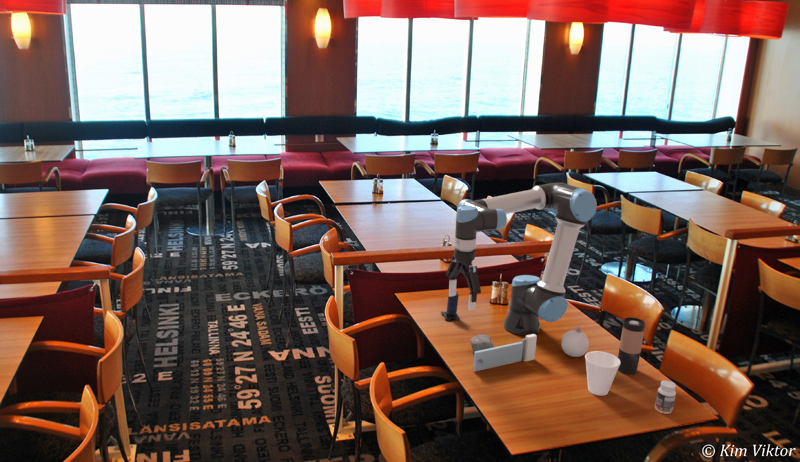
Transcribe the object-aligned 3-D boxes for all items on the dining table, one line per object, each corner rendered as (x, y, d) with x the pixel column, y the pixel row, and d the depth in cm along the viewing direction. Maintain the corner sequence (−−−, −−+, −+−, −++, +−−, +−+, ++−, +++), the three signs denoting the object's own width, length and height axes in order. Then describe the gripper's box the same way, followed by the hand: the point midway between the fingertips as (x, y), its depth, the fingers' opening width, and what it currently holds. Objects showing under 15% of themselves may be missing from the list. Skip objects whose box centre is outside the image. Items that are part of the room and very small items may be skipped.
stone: (501, 356, 242) (491, 336, 239) (480, 367, 243) (470, 346, 239) (494, 346, 251) (485, 326, 248) (474, 355, 251) (465, 336, 248)
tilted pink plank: (531, 357, 243) (534, 333, 240) (534, 359, 242) (537, 335, 239) (523, 359, 241) (525, 335, 238) (525, 361, 240) (528, 337, 237)
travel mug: (637, 367, 239) (645, 319, 233) (637, 376, 232) (645, 327, 226) (616, 363, 241) (623, 315, 236) (615, 372, 234) (623, 323, 229)
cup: (610, 403, 214) (615, 370, 210) (576, 392, 220) (580, 360, 216) (619, 388, 223) (624, 357, 220) (586, 378, 229) (590, 347, 226)
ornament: (588, 352, 249) (592, 325, 245) (584, 363, 240) (588, 335, 236) (562, 346, 253) (566, 319, 249) (557, 357, 244) (561, 329, 240)
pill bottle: (651, 405, 214) (656, 379, 211) (667, 405, 214) (672, 379, 211) (659, 414, 208) (664, 388, 206) (675, 414, 209) (680, 388, 206)
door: (522, 358, 241) (524, 338, 239) (526, 361, 239) (528, 341, 236) (472, 369, 231) (474, 348, 228) (476, 372, 229) (478, 351, 226)
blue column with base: (462, 319, 274) (464, 294, 270) (446, 322, 271) (448, 296, 267) (453, 311, 282) (455, 286, 278) (437, 313, 279) (439, 288, 275)
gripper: (438, 239, 236) (436, 292, 242) (475, 260, 215) (471, 317, 221) (455, 237, 239) (452, 289, 245) (493, 257, 218) (489, 313, 224)
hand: (461, 302), depth 233 cm, fingers open, 13 cm apart
